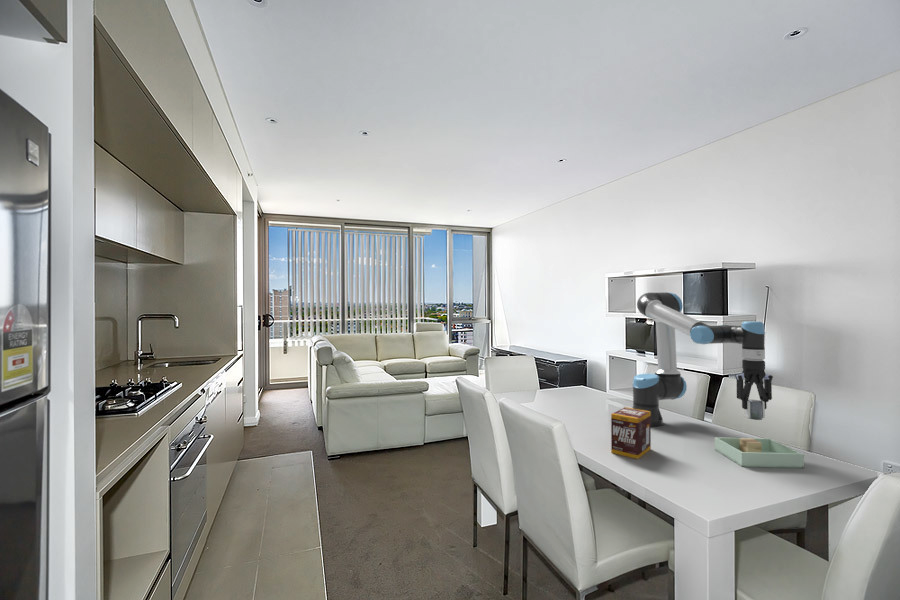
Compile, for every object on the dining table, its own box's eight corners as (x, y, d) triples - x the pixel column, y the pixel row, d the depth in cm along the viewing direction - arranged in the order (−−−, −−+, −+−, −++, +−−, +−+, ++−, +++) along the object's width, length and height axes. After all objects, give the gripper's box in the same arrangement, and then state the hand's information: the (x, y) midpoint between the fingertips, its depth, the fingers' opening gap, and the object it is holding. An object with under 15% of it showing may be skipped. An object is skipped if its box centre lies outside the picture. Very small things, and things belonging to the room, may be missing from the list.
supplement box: (610, 453, 166) (610, 413, 167) (625, 443, 178) (625, 406, 178) (637, 459, 159) (637, 418, 159) (651, 449, 171) (651, 410, 171)
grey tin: (744, 416, 172) (743, 399, 172) (756, 416, 172) (756, 399, 172) (752, 419, 167) (752, 402, 167) (765, 419, 167) (765, 402, 167)
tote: (714, 449, 170) (714, 437, 170) (770, 451, 169) (770, 438, 169) (741, 466, 153) (741, 452, 153) (803, 468, 151) (803, 454, 151)
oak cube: (739, 451, 167) (739, 438, 167) (753, 451, 167) (753, 438, 167) (747, 455, 162) (747, 442, 162) (761, 455, 162) (761, 442, 162)
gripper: (736, 360, 167) (737, 419, 166) (783, 360, 166) (784, 419, 166) (725, 358, 174) (725, 414, 174) (769, 358, 174) (770, 414, 173)
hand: (754, 417), depth 170 cm, fingers closed on grey tin, 5 cm apart
